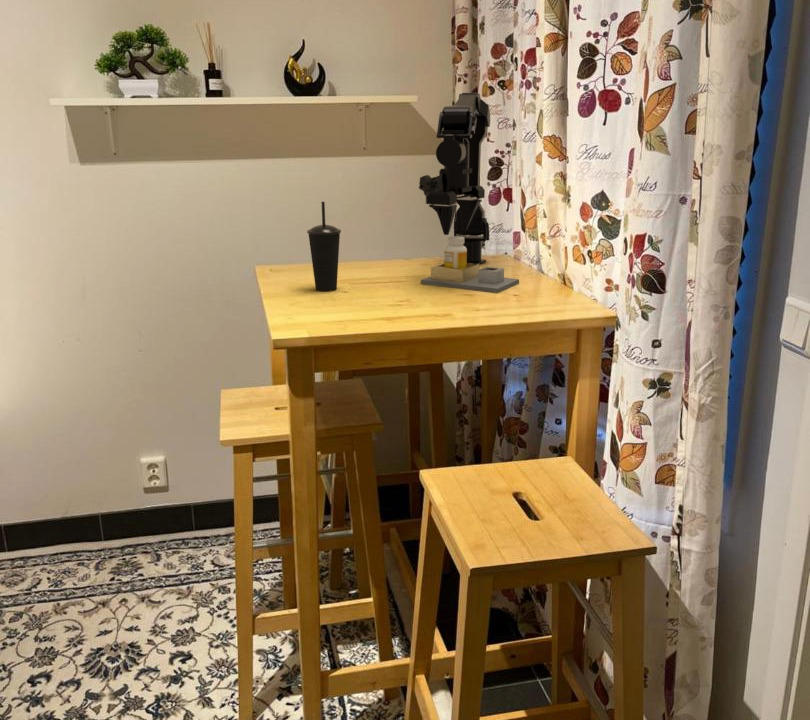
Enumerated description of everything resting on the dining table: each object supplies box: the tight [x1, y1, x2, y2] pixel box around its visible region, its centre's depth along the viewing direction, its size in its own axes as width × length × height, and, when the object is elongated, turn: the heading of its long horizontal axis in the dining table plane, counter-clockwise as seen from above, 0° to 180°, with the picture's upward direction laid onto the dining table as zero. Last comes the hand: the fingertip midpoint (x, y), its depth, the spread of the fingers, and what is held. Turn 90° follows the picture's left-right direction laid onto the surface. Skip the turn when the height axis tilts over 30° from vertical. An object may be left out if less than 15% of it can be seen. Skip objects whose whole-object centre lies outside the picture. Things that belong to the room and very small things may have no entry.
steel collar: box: [478, 266, 505, 285], centre depth 184 cm, size 4×4×3 cm
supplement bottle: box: [443, 235, 467, 269], centre depth 187 cm, size 5×5×10 cm
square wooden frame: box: [430, 261, 480, 283], centre depth 188 cm, size 8×8×3 cm
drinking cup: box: [306, 201, 342, 292], centre depth 179 cm, size 8×8×20 cm
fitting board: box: [420, 275, 520, 294], centre depth 187 cm, size 12×20×1 cm, turn 58°
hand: (455, 232), depth 185 cm, fingers open, 9 cm apart
